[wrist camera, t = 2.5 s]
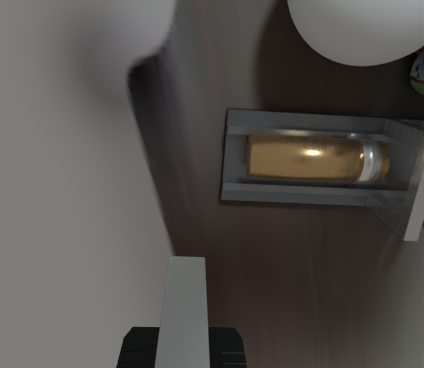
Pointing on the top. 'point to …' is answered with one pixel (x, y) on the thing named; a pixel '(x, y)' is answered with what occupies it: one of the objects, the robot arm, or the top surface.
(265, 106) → the top surface
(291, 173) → the copper tube
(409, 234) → the collar
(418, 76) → the beverage can
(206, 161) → the top surface
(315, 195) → the grey open frame rack
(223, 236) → the top surface
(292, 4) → the decorative ball
